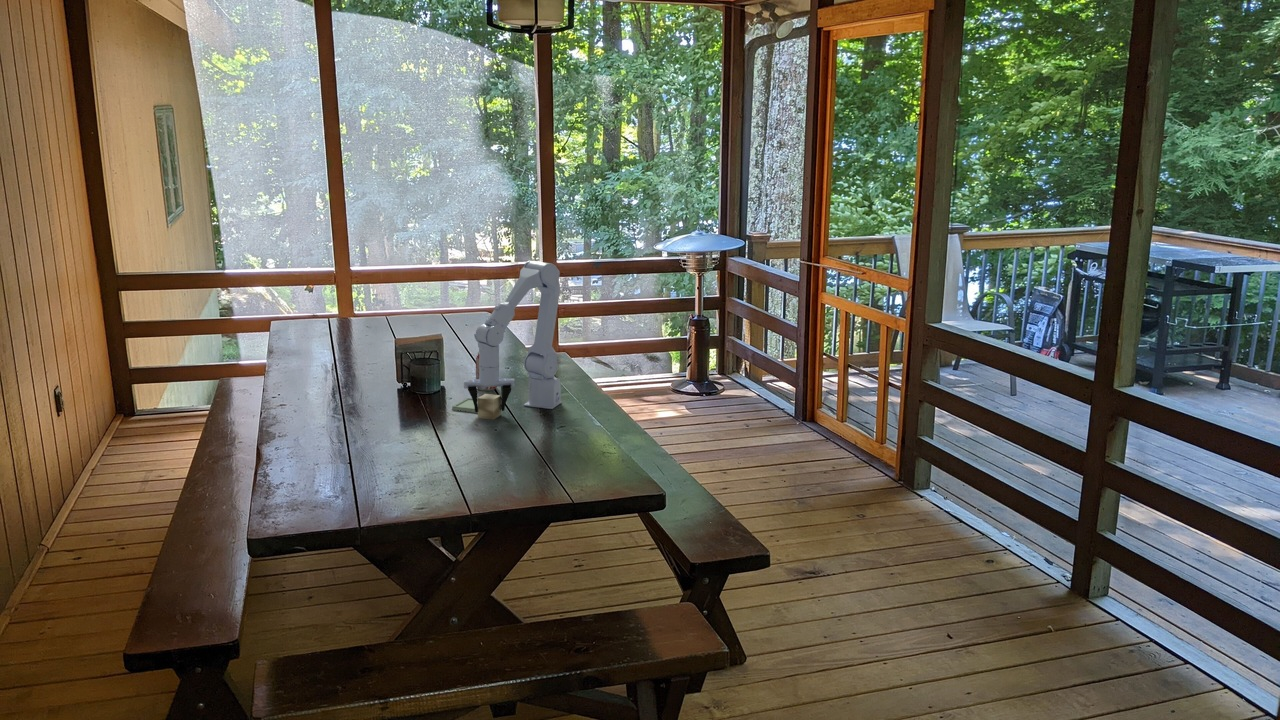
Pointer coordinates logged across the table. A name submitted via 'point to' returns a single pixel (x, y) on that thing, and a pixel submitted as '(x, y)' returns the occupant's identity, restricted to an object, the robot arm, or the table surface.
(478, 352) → the soda can
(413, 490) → the table surface
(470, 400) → the tray
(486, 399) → the maple block
